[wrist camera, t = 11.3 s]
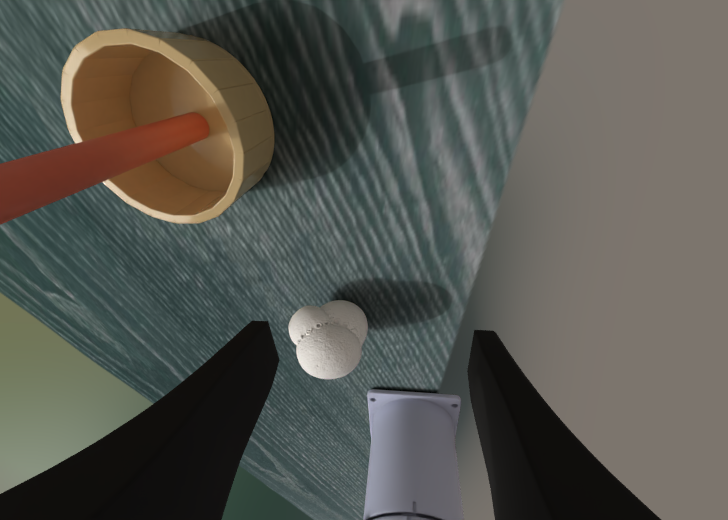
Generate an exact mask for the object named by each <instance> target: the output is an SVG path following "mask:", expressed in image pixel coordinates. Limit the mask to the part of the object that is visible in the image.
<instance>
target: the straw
mask: <svg viewBox="0 0 728 520" xmlns="http://www.w3.org/2000/svg"><path fill="white" fill-rule="evenodd" d="M208 134H209V125H208V123H207V121H206V120H205V118H204V117H203V116H201V115H200V114H198V113H195V112H190V113H186V114H183V115H179V116H175V117H172V118H168V119H164V120H161V121H157V122H153V123H149V124H146V125H142V126H138V127H135V128H131V129H127V130H124V131H120V132H116V133H113V134H109V135H105V136H101V137H98V138H94V139H90V140H87V141H83V142H79V143H76V144H72V145H68V146H64V147H61V148H57V149H53V150H50V151H46V152H42V153H39V154H35V155H31V156H28V157H24V158H20V159H16V160H13V161H9V162H5V163H2V164H0V224H3V223H5V222H7V221H10V220H12V219H15V218H17V217H19V216H22V215H24V214H26V213H29V212H31V211H34V210H36V209H38V208H41V207H43V206H46V205H48V204H50V203H53V202H55V201H58V200H60V199H62V198H65V197H67V196H70V195H72V194H74V193H77V192H79V191H81V190H84V189H86V188H89V187H91V186H93V185H96V184H98V183H101V182H103V181H105V180H108V179H110V178H113V177H115V176H117V175H120V174H122V173H124V172H127V171H129V170H132V169H134V168H136V167H139V166H141V165H144V164H146V163H148V162H151V161H153V160H156V159H158V158H160V157H163V156H165V155H168V154H170V153H172V152H175V151H177V150H179V149H182V148H184V147H187V146H189V145H191V144H194V143H196V142H199V141H201V140H203V139H205V138H207V136H208Z"/></svg>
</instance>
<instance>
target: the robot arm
mask: <svg viewBox="0 0 728 520" xmlns="http://www.w3.org/2000/svg"><path fill="white" fill-rule="evenodd" d="M278 363H279V357H278V354H277V350H276V347H275V344H274V340H273V337H272V333H271V330H270V327H269V323H268V321H251V322H250V323H249V324H248V325H247V326H246V327H244V328H243V329H242V330H241V331H240V332H239V333H238V334H237V335H236V336H235V337H234V338H232V339H231V340H230V341H229V342H228V343H227V344H226V345H225V346H224V347H223V348H221V349H220V350H219V351H218V352H217V353H216V354H215V355H214V356H212V357H211V358H210V359H209V360H208V361H207V362H206V363H205V364H203V365H202V366H201V367H200V368H199V369H197V370H196V371H195V372H194V373H193V374H191V375H190V376H189V377H188V378H187V379H185V380H184V381H183V382H182V383H180V384H179V385H178V386H177V387H176V388H174V389H173V390H172V391H170V392H169V393H168V394H166V395H165V396H164V397H163V398H161V399H160V400H158V401H157V402H156V403H154V404H153V405H151V406H150V407H149V408H148V409H146V410H145V411H143V412H142V413H140V414H139V415H137V416H136V417H134V418H133V419H131V420H130V421H128V422H127V423H125V424H123V425H122V426H120V427H119V428H117V429H116V430H114V431H113V432H111V433H110V434H108V435H106V436H105V437H103V438H102V439H100V440H99V441H97V442H96V443H94V444H92V445H90V446H89V447H87V448H85V449H83V450H82V451H80V452H78V453H77V454H75V455H73V456H71V457H70V458H68V459H66V460H64V461H62V462H61V463H59V464H57V465H55V466H53V467H52V468H50V469H48V470H46V471H44V472H42V473H40V474H38V475H37V476H35V477H33V478H31V479H29V480H27V481H25V482H23V483H21V484H19V485H17V486H15V487H13V488H11V489H9V490H7V491H5V492H4V493H2V494H0V520H221V519H222V516H223V512H224V509H225V506H226V502H227V499H228V496H229V493H230V490H231V487H232V484H233V481H234V478H235V475H236V472H237V468H238V466H239V463H240V460H241V458H242V455H243V452H244V450H245V447H246V445H247V443H248V441H249V438H250V436H251V434H252V431H253V429H254V427H255V424H256V422H257V420H258V418H259V415H260V413H261V411H262V408H263V406H264V404H265V401H266V399H267V397H268V394H269V392H270V389H271V387H272V384H273V381H274V377H275V374H276V370H277V367H278ZM468 380H469V388H470V397H471V403H472V408H473V412H474V416H475V421H476V425H477V429H478V434H479V438H480V442H481V446H482V451H483V455H484V459H485V464H486V468H487V472H488V477H489V483H490V488H491V494H492V501H493V508H494V515H495V520H661V519H660V518H659V517H657V516H656V515H655V514H654V513H653V512H652V511H651V510H650V509H649V508H648V507H647V506H646V505H644V504H643V503H642V502H641V501H640V500H639V499H638V498H637V497H636V496H635V495H634V494H632V492H631V491H630V490H628V489H627V488H626V487H625V486H624V485H623V484H622V483H621V482H620V481H619V480H618V479H617V478H616V477H615V476H613V475H612V474H611V473H610V472H609V471H608V470H607V469H606V468H605V467H604V466H603V465H602V464H601V463H600V462H599V461H598V460H597V459H596V457H594V455H593V454H592V453H591V452H590V451H589V450H588V449H587V448H586V447H585V446H584V445H583V444H582V443H581V442H580V441H579V440H578V439H577V438H576V436H575V435H574V434H573V433H572V432H571V431H570V430H569V429H568V428H567V426H565V424H564V423H563V422H562V421H561V420H560V418H559V417H558V416H557V415H556V414H555V413H554V412H553V410H552V409H551V408H550V407H549V406H548V404H547V403H546V402H545V401H544V399H543V398H542V397H541V396H540V394H539V393H538V392H537V390H536V389H535V388H534V387H533V385H532V384H531V383H530V381H529V380H528V379H527V377H526V376H525V375H524V373H523V372H522V371H521V369H520V368H519V367H518V365H517V364H516V362H515V361H514V359H513V358H512V356H511V355H510V354H509V352H508V351H507V349H506V348H505V346H504V345H503V343H502V341H501V340H500V338H499V337H498V335H497V334H496V333H495V332H494V331H486V330H485V331H484V330H475V331H474V336H473V341H472V347H471V353H470V359H469V365H468ZM367 397H368V409H369V420H370V431H371V449H370V459H369V469H368V479H367V489H366V499H365V509H364V519H363V520H464V516H463V507H462V498H461V489H460V481H459V472H458V463H457V455H456V446H455V437H456V431H457V425H458V419H459V413H460V406H461V398H460V396H458V395H451V394H436V393H422V392H407V391H392V390H378V389H371V390H369V391H368V394H367Z"/></svg>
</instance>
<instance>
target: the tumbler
mask: <svg viewBox="0 0 728 520" xmlns="http://www.w3.org/2000/svg"><path fill="white" fill-rule="evenodd" d="M61 99H62V100H61V103H62V107H63V111H64V115H65V119H66V123H67V127H68V129H69V132H70V134H71V136H72V138H73V140H74V142H75V144H76V143H79V142H83V141H87V140H90V139H94V138H98V137H101V136H105V135H109V134H113V133H116V132H120V131H124V130H127V129H131V128H135V127H138V126H142V125H146V124H149V123H153V122H157V121H161V120H164V119H168V118H172V117H175V116H179V115H183V114H186V113H190V112H195V113H198V114H200V115H201V116H203V117H204V118H205V120H206V121H207V123H208V125H209V134H208V136H207V138H205V139H203V140H201V141H199V142H196V143H194V144H191V145H189V146H187V147H184V148H182V149H179V150H177V151H175V152H172V153H170V154H168V155H165V156H163V157H160V158H158V159H156V160H153V161H151V162H148V163H146V164H144V165H141V166H139V167H136V168H134V169H132V170H129V171H127V172H124V173H122V174H120V175H117V176H115V177H113V178H110V179H108V180H105V181H103V183H104V184H105V185H106V186H107V187H108V188H109V189H111V190H112V191H113V192H114V193H115V194H116V195H118V196H119V197H120V198H121V199H122V200H124V201H125V202H127V203H128V204H129V205H131V206H133V207H135V208H137V209H138V210H140V211H142V212H144V213H146V214H148V215H149V216H152V217H155V218H158V219H162V220H165V221H169V222H172V223H202V222H204V221H207V220H210V219H213V218H215V217H218V216H219V215H221V214H222V213H223V212H224V211H226V210H227V209H228V208H229V207H230V206H231V205H233V204H234V203H235V202H236V201H237V200H238V199H240V198H241V197H242V196H243V195H244V194H246V193H247V192H248V191H249V190H250V189H251V188H252V187H253V186H254V185H255V184H256V183H258V182H259V181H260V180H261V178H262V177H263V176H264V174H265V173H266V171H267V170H268V168H269V165H270V163H271V160H272V156H273V152H274V143H275V142H274V126H273V120H272V116H271V113H270V109H269V107H268V104H267V101H266V99H265V97H264V95H263V93H262V91H261V89H260V87H259V86H258V84H257V83H256V81H255V80H254V78H253V77H252V76H251V74H250V73H249V72H248V71H247V69H246V68H245V67H244V66H243V65H242V64H241V63H240V62H239V61H238V60H237V59H236V58H235V57H233V56H232V55H231V54H230V53H229V52H227V51H226V50H224V49H223V48H221V47H219V46H218V45H216V44H214V43H212V42H210V41H208V40H205V39H202V38H199V37H196V36H191V35H186V34H182V33H174V32H162V31H151V30H139V29H128V28H124V29H113V30H102V31H97V32H95V33H93V34H92V35H90V36H89V37H87V38H86V39H84V40H83V41H81V42H80V43H78V44H77V45H75V47H74V48H73V50H72V52H71V54H70V56H69V58H68V60H67V62H66V64H65V66H64V68H63V71H62V83H61Z"/></svg>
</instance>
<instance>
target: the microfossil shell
mask: <svg viewBox="0 0 728 520" xmlns="http://www.w3.org/2000/svg"><path fill="white" fill-rule="evenodd" d="M288 326H289V327H288V329H289V333H290V337H291V339H292V341H293V342H294V343H295V344H296V345H297V347H296V349H297V350H296V351H297V358H298V361H299V363H300V365H301V366H302V368H303V369H304V370H305V371H306V372H307V373H309V374H310V375H312V376H314V377H317V378H321V379H335V378H339V377H343V376H345V375H347V374H349V373H350V372H351V371H352V370H354V369H355V367H356V366H357V365H358V363H359V361H360V358H361V353H362V350H361V347H362V345H363V343H364V341H365V338H366V335H367V330H368V324H367V319H366V316H365V314H364V312H363V311H362V310H361V309H360V308H359V307H358V306H357V305H355V304H354V303H351V302H349V301H345V300H335V301H331V302H328V303H326V304H324V305H323V306H322V307H320V308H319V307H316V306H312V305H308V306H304V307H302V308H300V309H299V310H298V311H297V312H296V313H295V314H294V315H293V316H292V318H291V320H290V322H289V325H288Z"/></svg>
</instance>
